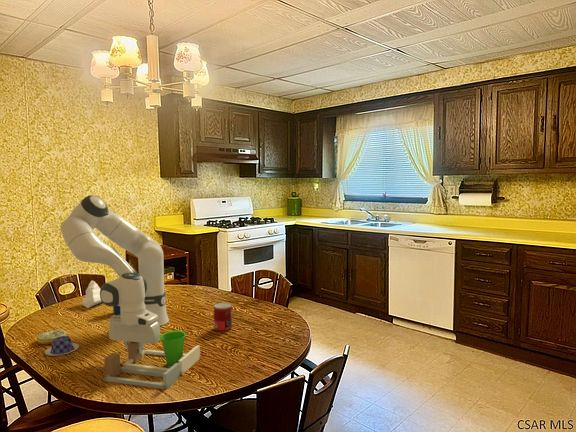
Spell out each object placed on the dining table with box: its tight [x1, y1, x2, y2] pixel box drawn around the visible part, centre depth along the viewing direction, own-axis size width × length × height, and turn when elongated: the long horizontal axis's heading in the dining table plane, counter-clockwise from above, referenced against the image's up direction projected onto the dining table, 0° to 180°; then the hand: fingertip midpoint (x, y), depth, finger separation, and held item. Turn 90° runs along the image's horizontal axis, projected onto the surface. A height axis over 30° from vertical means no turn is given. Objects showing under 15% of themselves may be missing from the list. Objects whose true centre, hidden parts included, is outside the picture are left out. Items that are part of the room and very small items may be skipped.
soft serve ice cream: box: [81, 280, 103, 309], centre depth 219 cm, size 12×15×14 cm
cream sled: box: [121, 342, 201, 376], centre depth 147 cm, size 25×13×7 cm, turn 75°
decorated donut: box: [36, 329, 67, 346], centre depth 169 cm, size 10×11×4 cm
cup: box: [160, 330, 187, 368], centre depth 145 cm, size 9×9×11 cm
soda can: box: [112, 306, 121, 315], centre depth 204 cm, size 7×7×12 cm
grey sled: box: [103, 352, 181, 390], centre depth 135 cm, size 25×8×7 cm, turn 75°
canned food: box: [213, 302, 233, 332], centre depth 180 cm, size 8×8×11 cm
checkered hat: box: [44, 335, 80, 356], centre depth 159 cm, size 12×12×5 cm
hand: (135, 352), depth 149 cm, fingers closed on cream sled, 3 cm apart
